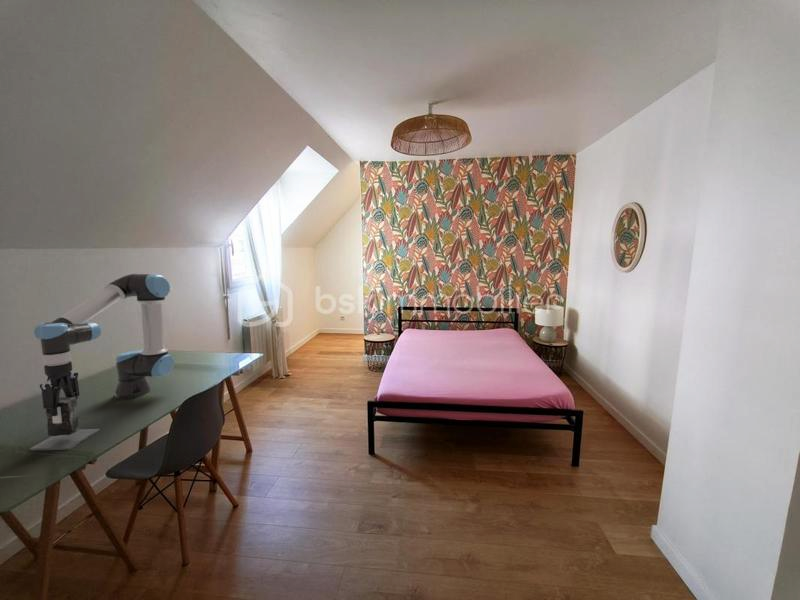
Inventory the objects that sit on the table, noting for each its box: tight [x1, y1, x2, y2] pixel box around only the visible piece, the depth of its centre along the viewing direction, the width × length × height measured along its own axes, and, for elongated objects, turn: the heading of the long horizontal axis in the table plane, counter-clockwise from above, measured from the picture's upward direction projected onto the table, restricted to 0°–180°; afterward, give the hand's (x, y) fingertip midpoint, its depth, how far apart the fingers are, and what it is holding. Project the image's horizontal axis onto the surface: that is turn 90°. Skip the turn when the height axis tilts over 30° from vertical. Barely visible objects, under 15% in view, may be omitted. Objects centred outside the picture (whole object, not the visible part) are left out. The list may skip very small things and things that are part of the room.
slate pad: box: [29, 428, 101, 451], centre depth 132 cm, size 14×14×1 cm
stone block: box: [45, 396, 80, 437], centre depth 131 cm, size 9×14×5 cm
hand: (64, 419), depth 131 cm, fingers closed on stone block, 5 cm apart
